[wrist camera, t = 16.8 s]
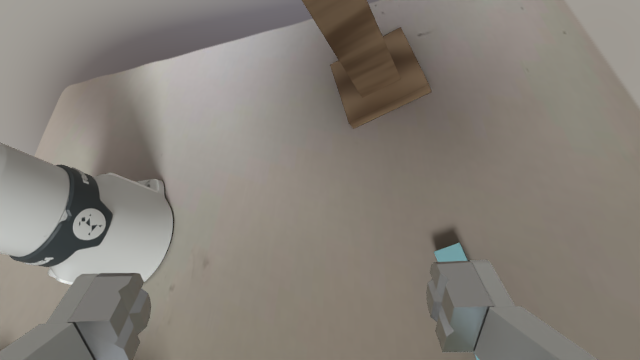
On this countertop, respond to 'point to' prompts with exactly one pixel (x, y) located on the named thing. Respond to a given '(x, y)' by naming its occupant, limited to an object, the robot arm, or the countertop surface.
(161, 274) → the countertop surface
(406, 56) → the walnut stand
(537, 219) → the countertop surface
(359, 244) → the countertop surface
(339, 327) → the countertop surface
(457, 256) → the teal bar
